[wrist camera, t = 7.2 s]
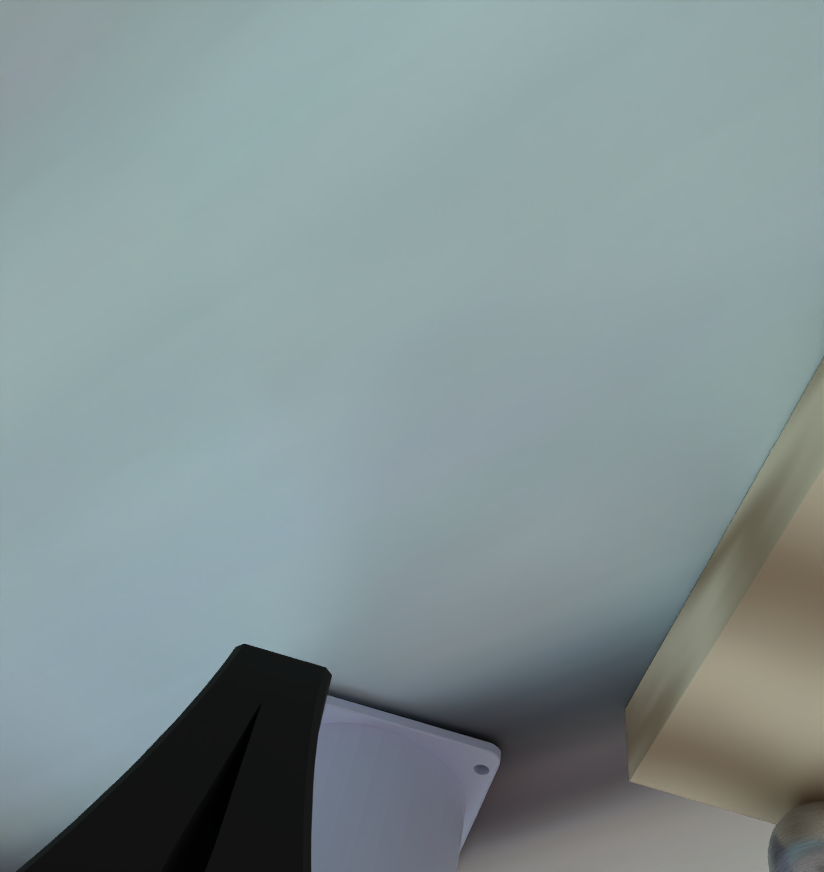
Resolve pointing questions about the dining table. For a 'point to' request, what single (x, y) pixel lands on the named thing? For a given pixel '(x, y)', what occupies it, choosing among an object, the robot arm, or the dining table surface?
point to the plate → (748, 649)
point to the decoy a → (798, 840)
